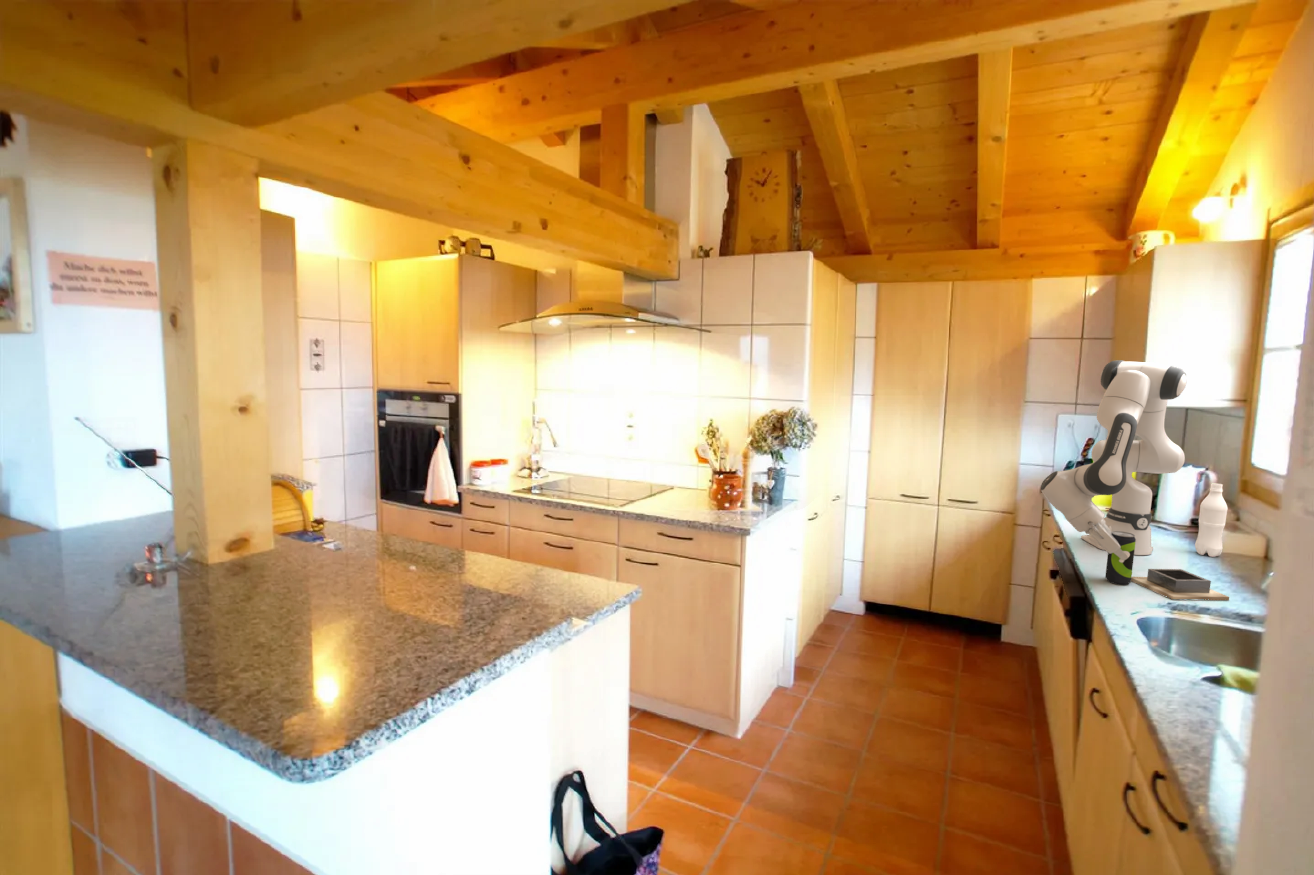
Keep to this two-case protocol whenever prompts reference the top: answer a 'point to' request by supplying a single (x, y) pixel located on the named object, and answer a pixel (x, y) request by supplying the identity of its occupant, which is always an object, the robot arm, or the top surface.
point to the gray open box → (1178, 581)
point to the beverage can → (1118, 568)
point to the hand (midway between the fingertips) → (1123, 555)
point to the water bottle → (1212, 522)
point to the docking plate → (1163, 591)
